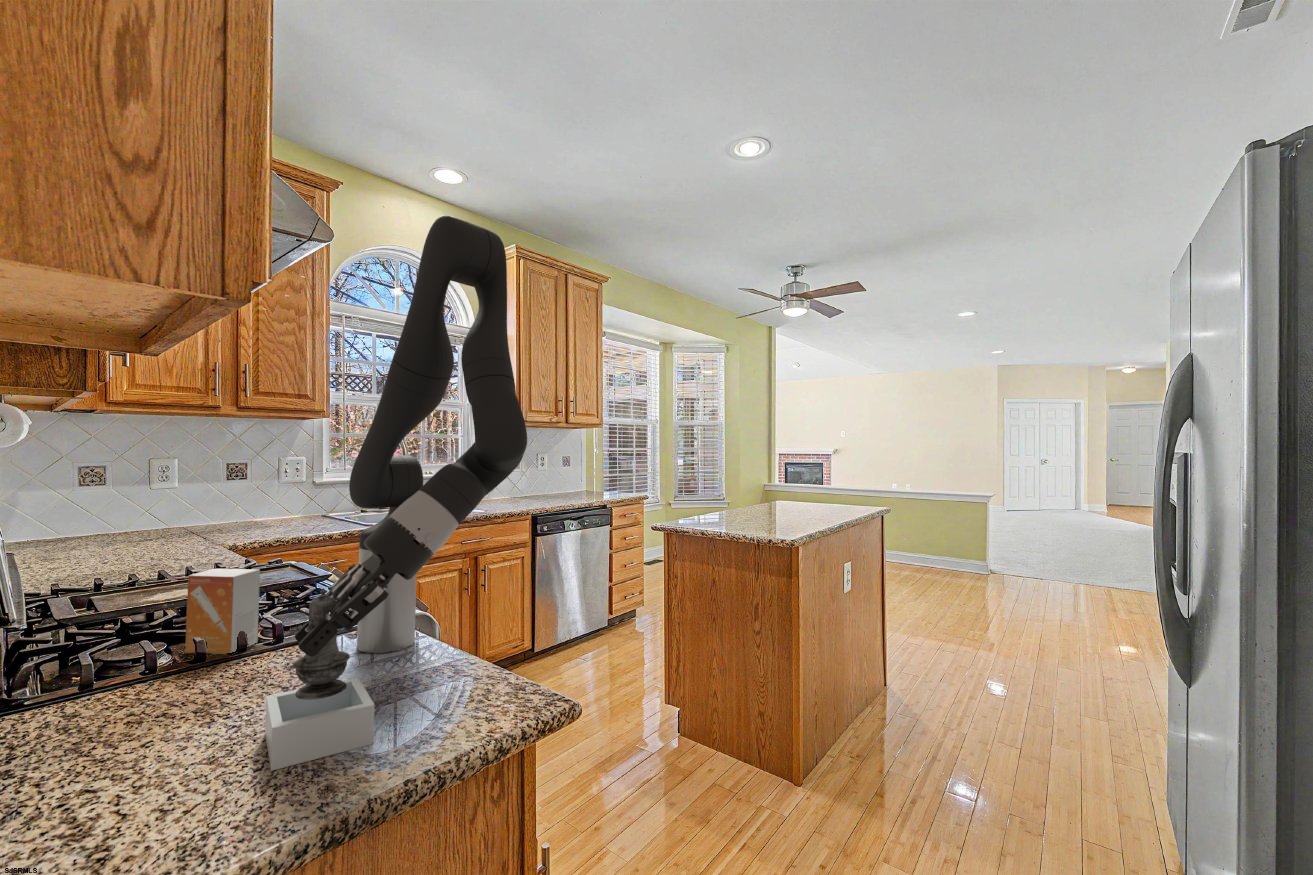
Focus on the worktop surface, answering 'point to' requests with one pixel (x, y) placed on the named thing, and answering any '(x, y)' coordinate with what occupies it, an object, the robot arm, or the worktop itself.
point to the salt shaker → (321, 658)
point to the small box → (222, 608)
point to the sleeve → (317, 725)
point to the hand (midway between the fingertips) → (303, 646)
